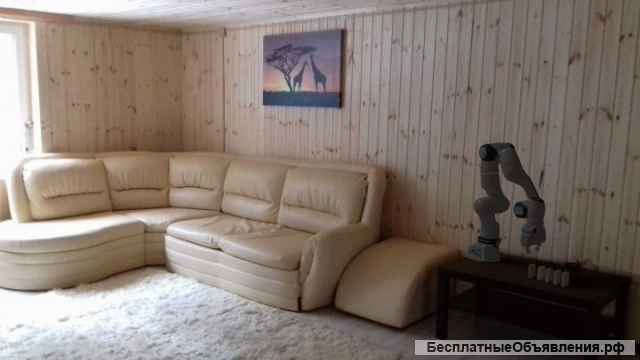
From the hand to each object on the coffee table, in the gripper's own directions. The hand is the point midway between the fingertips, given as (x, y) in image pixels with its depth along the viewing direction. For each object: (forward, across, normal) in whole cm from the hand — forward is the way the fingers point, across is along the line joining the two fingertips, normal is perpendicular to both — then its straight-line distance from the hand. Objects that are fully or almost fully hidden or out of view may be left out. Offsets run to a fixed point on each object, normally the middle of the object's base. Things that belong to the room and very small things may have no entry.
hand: (532, 252), depth 316 cm
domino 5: (+13, 0, +20) cm, 24 cm away
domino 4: (+14, 0, +15) cm, 20 cm away
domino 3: (+14, 0, +11) cm, 17 cm away
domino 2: (+14, 0, +6) cm, 15 cm away
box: (+14, -20, +13) cm, 28 cm away
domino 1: (+14, 0, +1) cm, 14 cm away
